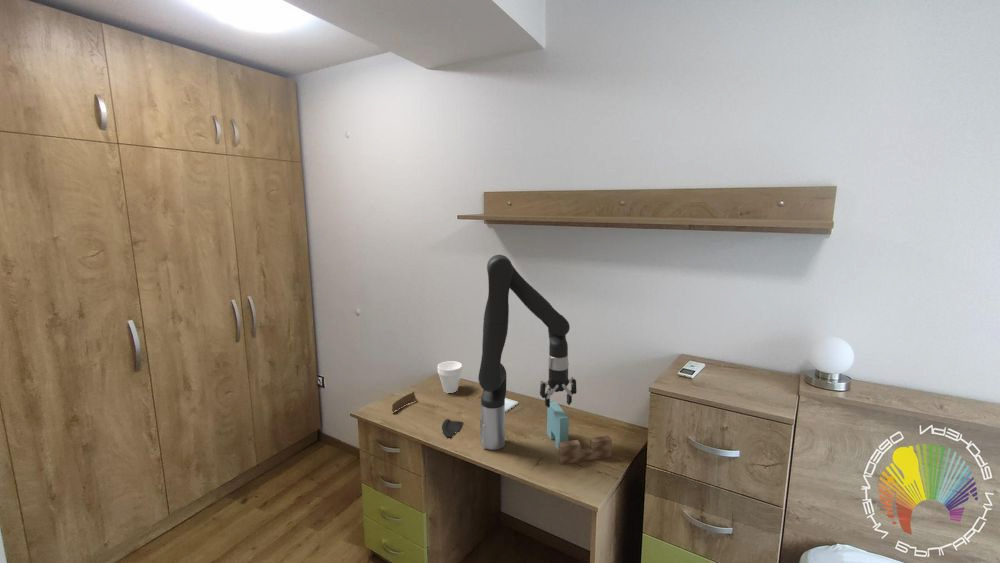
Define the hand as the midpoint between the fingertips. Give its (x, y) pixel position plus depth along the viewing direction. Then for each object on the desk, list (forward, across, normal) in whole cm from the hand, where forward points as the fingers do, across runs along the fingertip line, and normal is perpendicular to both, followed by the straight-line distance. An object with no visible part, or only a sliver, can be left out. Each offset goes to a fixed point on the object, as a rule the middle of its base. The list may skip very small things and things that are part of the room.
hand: (558, 405), depth 174 cm
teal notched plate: (+16, 0, 0) cm, 16 cm away
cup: (+15, +36, -58) cm, 70 cm away
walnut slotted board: (+16, -6, +13) cm, 21 cm away
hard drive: (+16, +14, -35) cm, 41 cm away
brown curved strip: (+15, +58, -46) cm, 76 cm away
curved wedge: (+16, +40, -21) cm, 48 cm away
